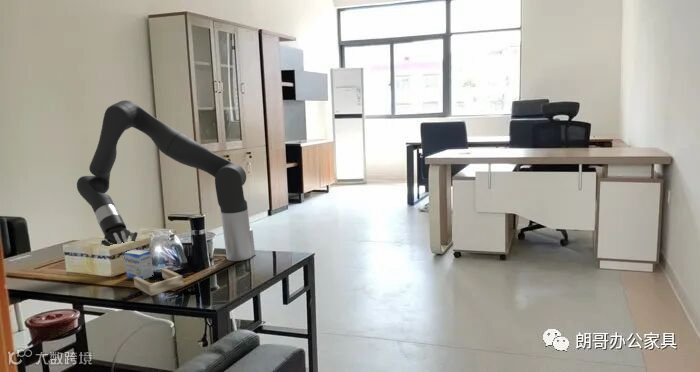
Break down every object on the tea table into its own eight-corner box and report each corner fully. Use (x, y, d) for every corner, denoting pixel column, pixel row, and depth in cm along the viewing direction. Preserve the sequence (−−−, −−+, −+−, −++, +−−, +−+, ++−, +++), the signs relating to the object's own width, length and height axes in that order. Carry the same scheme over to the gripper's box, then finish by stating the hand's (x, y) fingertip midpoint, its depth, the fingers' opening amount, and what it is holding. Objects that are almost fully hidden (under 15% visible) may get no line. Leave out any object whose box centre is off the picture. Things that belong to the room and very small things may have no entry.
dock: (166, 276, 173) (164, 268, 173) (183, 284, 165) (182, 275, 164) (134, 286, 166) (133, 277, 166) (151, 295, 158) (149, 286, 157)
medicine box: (126, 277, 175) (122, 252, 174) (137, 273, 179) (133, 248, 178) (143, 280, 172) (139, 254, 170) (154, 275, 176) (150, 250, 174)
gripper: (91, 218, 180) (111, 259, 173) (130, 209, 189) (150, 248, 182) (89, 231, 185) (107, 271, 178) (127, 222, 194) (146, 260, 187)
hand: (129, 259), depth 180 cm, fingers closed
